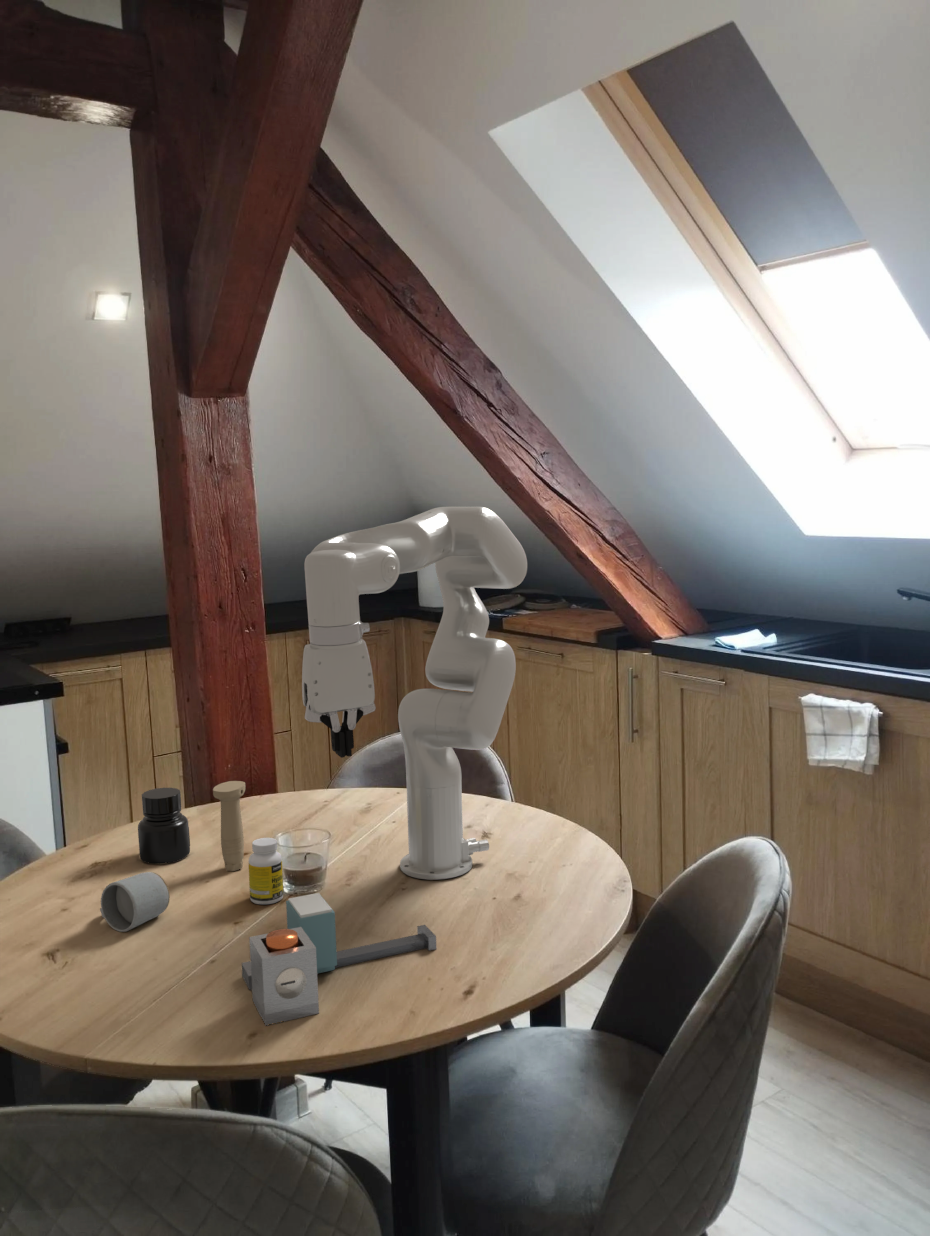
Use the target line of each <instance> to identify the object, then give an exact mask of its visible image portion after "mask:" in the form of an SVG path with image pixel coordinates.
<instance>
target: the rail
mask: <svg viewBox="0 0 930 1236" xmlns="http://www.w3.org/2000/svg"><path fill="white" fill-rule="evenodd" d="M416 928H417V929H416V930H417V932H416V933H417V934H414V935H408V936H404V937H399V938H394V939H390V940H385V941H380V942H375V943H372V944H371V943H370V944H366V945H362V946H356V947H352V948H348V949H347V948H346V949H344V950H343V949H342V950H336V952H337V965H336V966H335V969H337V968H341V967H346V966H351V965H355V964H359V963H364V962H369V961H373V960H379V959H383V958H387V957H393V956H396V955H400V954H401V955H402V954H406V953H410V952H415V951H419V950H424V949H426V950H427V951H428V952H429V951H435V950H437V936H436V934H435V933H434V932H433V931H432V930H431V929H430V928H429V927H428V926H427V925H426V924H422V925H417V926H416ZM241 976H242V979H243V981H244V982H245V985H246V986H247V988H248V990H249V991H252V977H251V960H250V961H249V960H248V961H245V962H244V961H243V962H241Z"/></svg>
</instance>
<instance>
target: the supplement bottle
mask: <svg viewBox="0 0 930 1236" xmlns="http://www.w3.org/2000/svg"><path fill="white" fill-rule="evenodd" d="M251 845H252V848H251V849H252V854H250V856H249V857H248V881H249V882H248V883H249V898H250V899H249V900H250V901H251V902H252V903H254V904H256V905H272V904H273V905H274V904H275V903H278V902H279V901H282V900H283V898H284V880H283V877H284V876H283V856H282V854H281V853H280V852H279V851H278V840H277V839H276V838H274V837H261V838H256V839H255V840H253V841H252V842H251Z"/></svg>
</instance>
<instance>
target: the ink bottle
mask: <svg viewBox="0 0 930 1236" xmlns="http://www.w3.org/2000/svg"><path fill="white" fill-rule="evenodd" d="M141 803H142V815H143V818H142V819H141V820H140V822H138V825H137V836H138V852H139V859H140V861H142V862H144V863H147V864H155V865H158V864H159V865H163V864H164V865H165V864H171V863H176V862H178V861H180V860H183V859H184V858H186V857H188V855H189V854H190V853H191V852H190V851H191V841H190V840H191V838H190V827H189V826H190V825H189V818H187V816H185V814H183V813H182V797H181V789H178V788H175V787H156V788H152V789H148V790H146V791H144V792H143V793H142V794H141Z"/></svg>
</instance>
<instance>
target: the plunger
mask: <svg viewBox="0 0 930 1236" xmlns="http://www.w3.org/2000/svg"><path fill="white" fill-rule="evenodd" d="M266 934H267V933H266ZM266 943H267V951H268V952H269V953H271V952H276V951H281V950H286V949H291V948H296V947H298V935H297V932H296V931H294V930H291V929H287V928H279V929H275V930H272V931H270V932H269V933H268V934H267V936H266Z"/></svg>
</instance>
